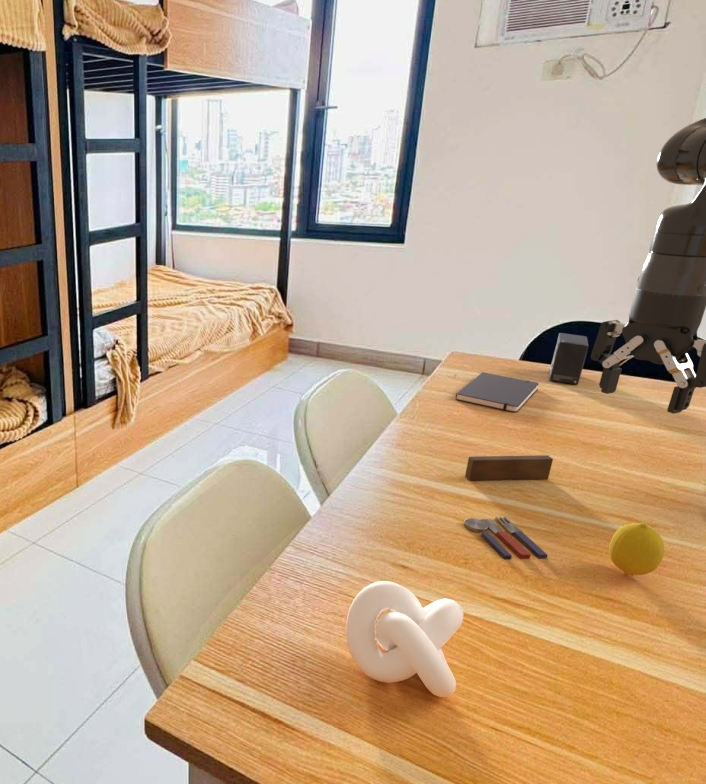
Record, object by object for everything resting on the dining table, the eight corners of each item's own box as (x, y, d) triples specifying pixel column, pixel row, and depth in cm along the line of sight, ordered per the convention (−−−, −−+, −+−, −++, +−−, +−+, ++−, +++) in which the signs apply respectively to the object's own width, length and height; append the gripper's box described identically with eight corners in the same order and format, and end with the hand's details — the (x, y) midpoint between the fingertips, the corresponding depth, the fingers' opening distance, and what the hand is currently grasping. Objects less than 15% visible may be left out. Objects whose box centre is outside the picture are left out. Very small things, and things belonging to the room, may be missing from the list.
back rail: (542, 475, 111) (547, 455, 110) (548, 479, 110) (553, 458, 109) (464, 476, 111) (468, 456, 110) (469, 480, 110) (473, 460, 109)
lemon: (661, 591, 81) (679, 538, 79) (610, 582, 83) (626, 530, 80) (644, 567, 86) (661, 516, 83) (597, 559, 88) (611, 509, 85)
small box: (579, 385, 155) (590, 345, 152) (548, 381, 159) (557, 341, 155) (578, 374, 163) (588, 335, 160) (548, 370, 167) (557, 332, 163)
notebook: (481, 377, 162) (455, 399, 147) (482, 371, 161) (456, 393, 147) (538, 388, 154) (516, 413, 139) (539, 382, 153) (517, 406, 138)
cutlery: (549, 558, 88) (550, 554, 88) (496, 559, 88) (497, 555, 88) (505, 519, 98) (506, 515, 98) (458, 519, 98) (458, 515, 98)
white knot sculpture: (491, 713, 64) (508, 642, 61) (377, 721, 63) (389, 651, 60) (430, 634, 74) (443, 571, 71) (332, 641, 73) (341, 577, 70)
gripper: (756, 295, 78) (715, 415, 84) (632, 277, 90) (603, 383, 96) (721, 300, 75) (681, 424, 81) (598, 281, 88) (571, 390, 93)
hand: (639, 401), depth 88 cm, fingers open, 8 cm apart
